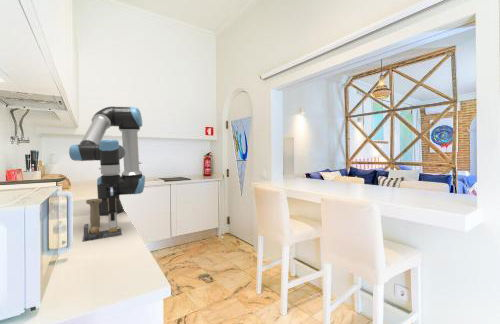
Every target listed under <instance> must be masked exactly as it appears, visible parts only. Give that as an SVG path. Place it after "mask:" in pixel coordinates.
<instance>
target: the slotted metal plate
mask: <svg viewBox="0 0 500 324" xmlns="http://www.w3.org/2000/svg"><path fill="white" fill-rule="evenodd" d="M118 236H123V234H122V229H121V227H120V228H117V232H115V233H109V229H106V230H101V231H100V232H99V234H98V235H97V233H92V234H89V223H84V226H83V237H82V240H81V242H90V241H96V240H102V239H107V238H113V237H114V238H115V237H118Z"/></svg>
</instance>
